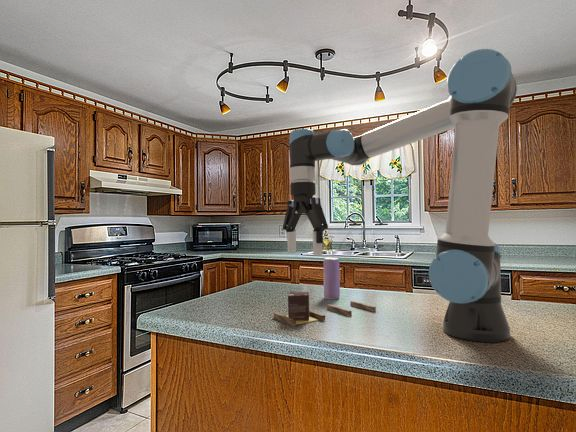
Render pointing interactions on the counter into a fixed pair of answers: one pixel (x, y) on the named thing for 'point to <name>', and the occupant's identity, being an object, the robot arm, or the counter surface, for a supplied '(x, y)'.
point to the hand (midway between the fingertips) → (304, 254)
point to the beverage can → (331, 278)
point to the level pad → (306, 320)
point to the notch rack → (322, 317)
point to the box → (298, 305)
